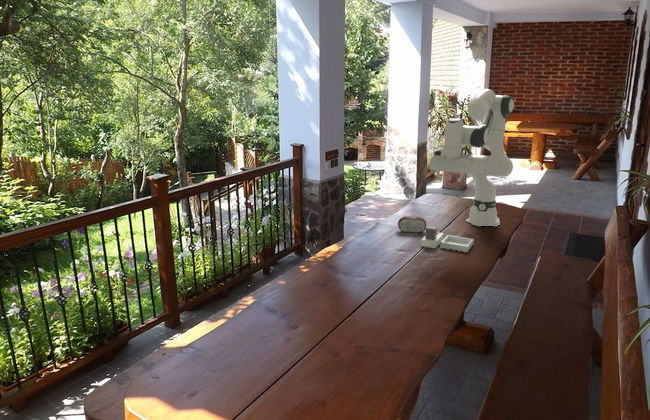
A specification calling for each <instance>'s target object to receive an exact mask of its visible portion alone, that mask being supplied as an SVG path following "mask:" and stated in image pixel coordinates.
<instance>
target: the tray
mask: <svg viewBox="0 0 650 420" xmlns="http://www.w3.org/2000/svg"><path fill="white" fill-rule="evenodd" d="M439 245H440V247H439V248H440V249H443V248H446V249H445V250H449V249H453V250H452V251H455V250H458V251H457V252H461V251H463V253H466V252H467V253H469V251H470V250H471V248H472V247H473V246H474V239H473V238H468V237H463V236H456V235H449V234H447V235H446V236H444V239H443V240H442V241H441V243H440V244H439ZM472 245H473V246H472ZM471 246H472V247H471ZM469 249H470V250H469Z"/></svg>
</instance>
